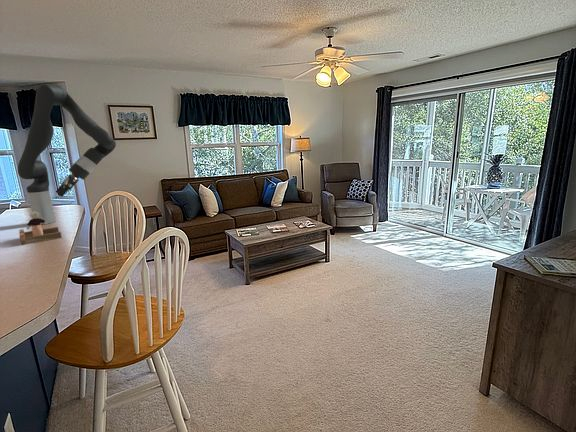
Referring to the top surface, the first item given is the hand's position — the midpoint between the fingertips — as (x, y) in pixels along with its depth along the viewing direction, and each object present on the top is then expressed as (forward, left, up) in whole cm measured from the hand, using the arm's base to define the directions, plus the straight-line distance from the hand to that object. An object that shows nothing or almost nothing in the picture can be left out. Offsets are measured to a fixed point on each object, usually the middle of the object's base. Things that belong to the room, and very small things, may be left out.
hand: (58, 194), depth 143 cm
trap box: (+1, -10, -19) cm, 21 cm away
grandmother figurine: (+1, -10, -19) cm, 21 cm away
